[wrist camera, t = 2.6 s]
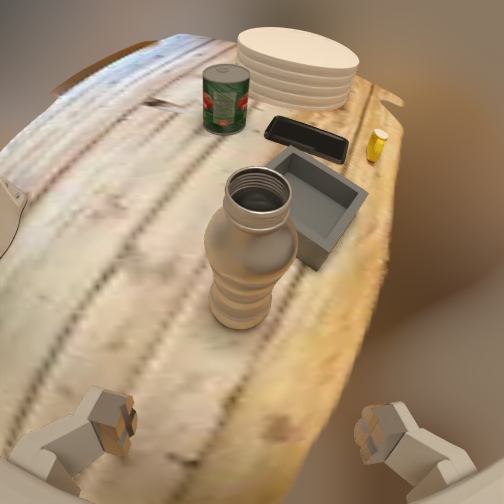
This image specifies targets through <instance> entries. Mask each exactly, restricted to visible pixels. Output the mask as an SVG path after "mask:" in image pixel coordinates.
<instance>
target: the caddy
mask: <svg viewBox="0 0 504 504" xmlns="http://www.w3.org/2000/svg"><path fill="white" fill-rule="evenodd" d="M264 167H266V168H269V169H272V170H275V171H277V172H278V173H280V174H282V175H283V176H284V177H285V178H286V179H287V180H288V182H289V183H290V185H291V188H292V200H291V204H290V213H289V217H290V218H291V220H292V221H293V223H294V225H295V227H296V231H297V237H298V251H297V254H296V257H297V258H298V259H300V260H301V261H302V262H304V263H305V264H307V265H308V266H310V267H311V268H312V269H314V270H315V271H317V270H318V269H319V268H320V266H321V265H322V263H323V262H324V261H325V259H326V258H327V256H328V255H329V254H330V252H331V251H332V249H333V248H334V246H335V245H336V243H337V242H338V240H339V239H340V238H341V236H342V235H343V233H344V232H345V230H346V229H347V227H348V226H349V224H350V223H351V221H352V220H353V218H354V217H355V215H356V214H357V212H358V210H359V209H360V207H361V205H362V204H363V202H364V201H365V199H366V197H367V196H368V194H369V193H368V192H366V191H365V190H363V189H362V188H360V187H359V186H357V185H356V184H354V183H353V182H351V181H350V180H348V179H347V178H345V177H343V176H342V175H340V174H339V173H337V172H336V171H334V170H332V169H331V168H329V167H327V166H326V165H324V164H322V163H321V162H319V161H317V160H316V159H314V158H312V157H311V156H309V155H307V154H306V153H304V152H302V151H300V150H299V149H297V148H295V147H293V146H291V145H290V146H289V147H287V148H286V149H285V150H284V151H282V152H281V153H280V154H279V155H278V156H276V157H275V158H274V159H273V160H271V161H270V162H269V163H268V164H267V165H265V166H264Z"/></svg>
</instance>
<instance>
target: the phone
mask: <svg viewBox="0 0 504 504" xmlns="http://www.w3.org/2000/svg"><path fill="white" fill-rule="evenodd" d="M264 137H265V138H266V139H268V140H271V141H274V142H277V143H280V144H283V145H286V146H290V145H291V146H293V147H295V148H297V149H299V150H301V151H304V152H307V153H309V154H312V155H315V156H318V157H320V158H323V159H326V160H328V161H331V162H333V163H336V164H340V165H341V164H343V163H344V161H345V158H346V154H347V149H348V144H349V142H348V140H347V139H345V138H343V137H340V136H338V135H335V134H333V133H330V132H327V131H324V130H322V129H319V128H316V127H313V126H310V125H307V124H305V123H302V122H298V121H295V120H292V119H289V118H286V117H283V116H275V117H274V118H273V120H272V121H271V123H270V124H269V126H268V127H267V129H266V130H265V133H264Z"/></svg>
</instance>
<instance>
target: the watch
mask: <svg viewBox="0 0 504 504" xmlns="http://www.w3.org/2000/svg"><path fill="white" fill-rule="evenodd" d="M387 139H388V135H387V134H386V133H385V132H384V131H382V130H380V129H375V130H374V132H373V133H372V135H371V137H370V140H369V143H368V146H367V159H368V160H370V161H372V162H376V161H377V160H378V159H379V157H380V155H381V152H382V150H383V145H384V141H386V140H387ZM376 141H377V142H376ZM375 144H376V146H375ZM374 147H375V149H374Z"/></svg>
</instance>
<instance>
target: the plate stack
mask: <svg viewBox="0 0 504 504" xmlns="http://www.w3.org/2000/svg"><path fill="white" fill-rule="evenodd" d="M358 64H359V59H358V57H357V56H356V55H355V54H354V53H353V52H352V51H351V50H349V49H348V48H346V47H345V46H343V45H341V44H339V43H337V42H335V41H333V40H331V39H328V38H325V37H323V36H320V35H317V34H313V33H309V32H305V31H301V30H295V29H288V28H276V27H264V28H254V29H250V30H246V31H244V32H242V33H241V34H239V36H238V46H237V56H236V65H239V66H242V67H245V68H246V69H248V70H249V71H250V74H251V75H250V84H249V92H248V95H250V96H252V97H254V98H256V99H258V100H260V101H263V102H266V103H268V104H272V105H275V106H279V107H282V108H287V109H292V110H299V111H308V112H324V111H331V110H335V109H338V108H340V107H341V106H343V105H344V104H345V102H346V100H347V96H348V94H349V91H350V87H351V85H352V82H353V78H354V76H355V73H356V69H357V67H358Z"/></svg>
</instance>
